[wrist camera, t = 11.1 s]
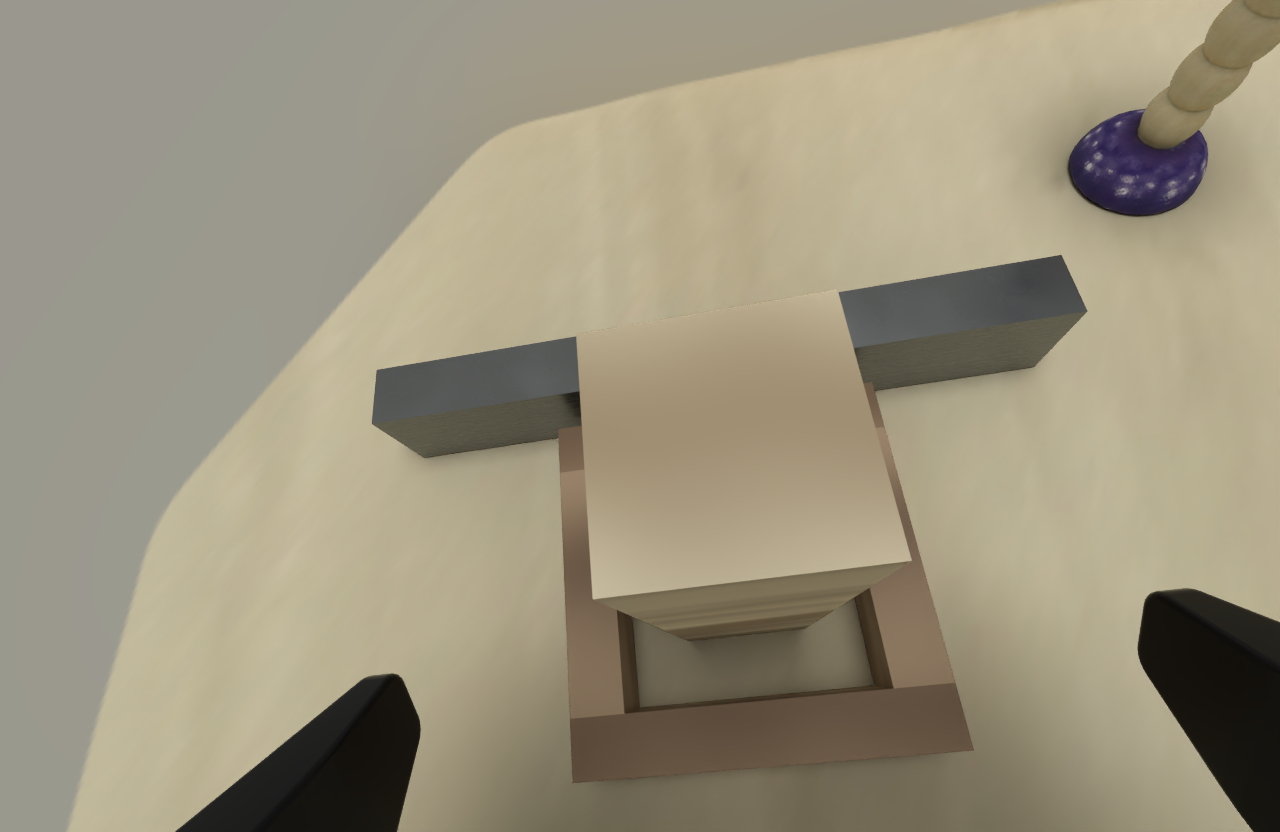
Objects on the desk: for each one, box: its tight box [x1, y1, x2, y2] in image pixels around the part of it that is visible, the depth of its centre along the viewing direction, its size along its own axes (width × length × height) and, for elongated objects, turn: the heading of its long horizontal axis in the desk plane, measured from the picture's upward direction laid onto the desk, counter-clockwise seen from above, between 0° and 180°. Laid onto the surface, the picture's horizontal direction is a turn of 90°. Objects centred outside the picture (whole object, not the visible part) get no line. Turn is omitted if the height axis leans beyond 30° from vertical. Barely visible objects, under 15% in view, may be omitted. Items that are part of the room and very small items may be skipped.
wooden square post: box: [576, 289, 912, 641], centre depth 13 cm, size 4×4×13 cm
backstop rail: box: [372, 255, 1087, 458], centre depth 20 cm, size 2×22×4 cm, turn 95°
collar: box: [558, 382, 974, 783], centre depth 18 cm, size 10×10×2 cm
